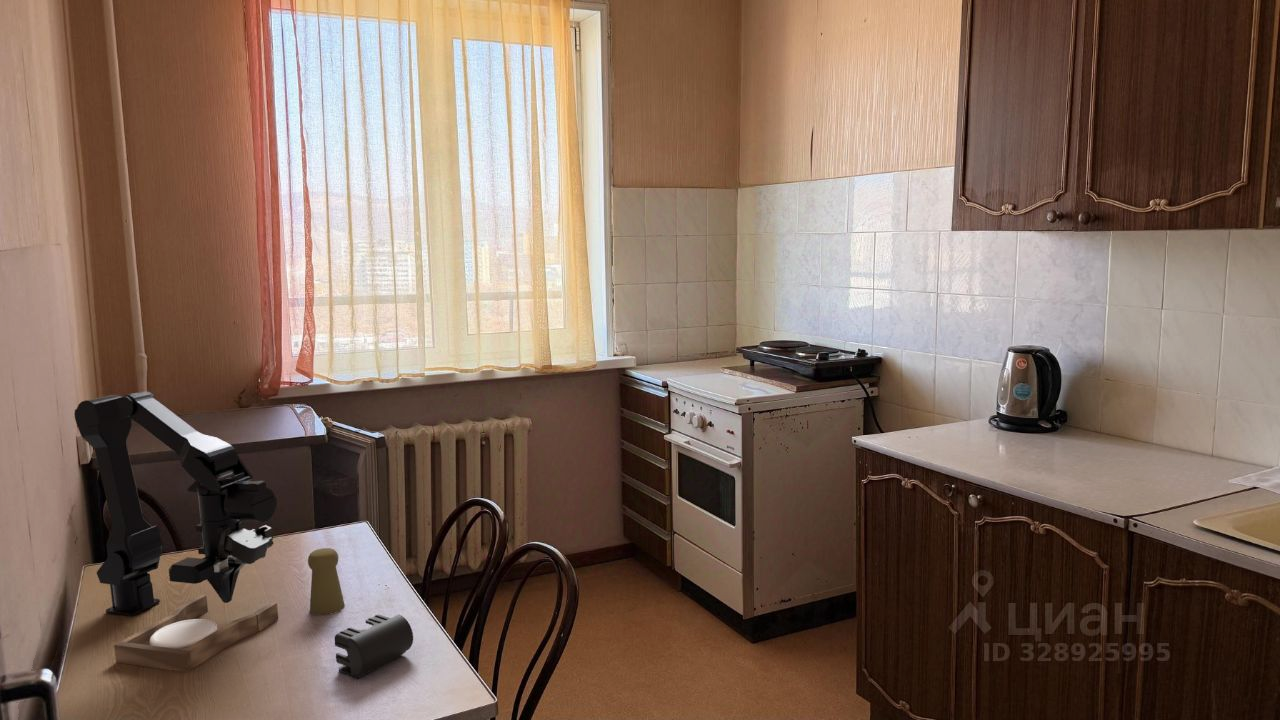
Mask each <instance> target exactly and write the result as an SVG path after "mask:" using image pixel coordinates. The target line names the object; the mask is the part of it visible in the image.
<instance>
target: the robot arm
mask: <svg viewBox="0 0 1280 720" xmlns="http://www.w3.org/2000/svg"><path fill="white" fill-rule="evenodd" d="M74 420H75V423H76V425H77V428H78V431H79V433H80V436H81V437H82V439H83V440H85V441H86V443H87V444H89V445H90V446H91V447H92V448H93V450H94V453H95V455H96V460H97V465H98V469H99V474H100V478H101V482H102V487H103V490H104V491H103V492H104V495H105V500H106V504H107V507H108V512H109V518H110V521H111V528H110V529H111V530H110V532H109V535H108V537H107V541H106V554H107V558H106V559H105V560H104V562H103V563H102V564H101V565H100V566H99V569H97V571H96V575H97V578H98V581H99V583H100V584H104V585H109V586H110V595H111V604H112V606H111V607H108V608H106V609H105V613H106V614H114V615H122V616H128V617H129V616H130V617H131V616H132V617H133V616H135V615H138V614H139V613H141V612H144V611H145V610H147V609H149V608H151V607H153V606H155V605H157V604H159V603H160V602H161V600H160V598H155V596H154V589H153V582H152V581H151V574H150V572H151V571H155V570H157V569H158V568H159V564H160V559H161V557H162V555H163V547H164V545H165V543H163V540H162V538H161V531H160V528H159V526H158V525H153V526H152V525H151V524H150V523H149V522H148V521H147V520H146V519H145V518H144V515H143V510H142V506H141V503H140V498H139V493H138V489H137V483H136V481H135V476H134V471H133V467H132V463H131V458H130V455H129V449H128V444H127V441H128V438H129V436H130V433H131V430H132V428H133V423H132V422H133V421H134V422H135V423H137V424H138V425H139V426H140V427H142V428H143V429H144V430H145V431H147V432H148V433H149V434H150V435H152V436H153V437H154V438H156V439H157V440H158V441H160V442H161V443H162V444H164V445H165V446H166V447H168V449H170V450H172V451H173V452H174V453H175V454H176V455H177V456H178V458H179V463H180V466H181V468H182V469H183V470H184V471H185V472H186V473H187V474H188V475H189V476H190V477H191V478H192V479H193V480H194V481H193V482H192V484H190V485H189V487H188V488H187V489H186V490H187V492H189V493H196V494H197V496H198V497H197V498H198V507H199V508H198V509H199V517H200V523H198V524H196V525H195V531H196V532H201V535H202V544H203V545H202V546H199V547H198V548H197V552H198V553H197V554H198V555H204V557H202V558H201V557H200V558H198V557H189V556H187V557H186V558H185V557H184V558H183V559H181V560H179V561H177V562H175V563H172V564H171V566H170V567H169V568H168V576H169V582H175V583H183V584H192V585H196V584H201V583H203V582H205V581H207V582H208V583H209V584H210V585H211V587H212V588H213V589H214V591H215V593H216V594H217V595H218V597H219V598H220V600H221V601H222V602H223V603H225V604H228V603H230V602H231V601H232V600H233V595H234V591H235V587H236V584H237V581H238V576H239V574H240V572H241V571H240V570H242V569H243V567H244V566H245V565H246V564H247V565H252V564H254V563H256V561H259V560H260V559H264V558H265V557H266V554H267V551H268V549H269V548H271V547H273V545H274V541H273V540H274V534H273V529H272V527H271V526H268V525H267V524H265V525H262V526H260V527H258V528H257V529H255V528H252V529H247V528H246V525H245V521H249V522H250V521H251V522H260V523H264V522H265V523H266V522H267V521H269V520H271V518H272V517H273V516H274V513H275V512H276V508H277V504H278V503H277V497H276V495H275V492H273V490H272V489H270V488H269V487H267V482H266V481H265V480H257V481H255V480H254V481H252V480H253V478H254V477H253V475H252V474H251V471H250V469H249V468H248V467H247V466H246V465H245V464H244V463H245V462H244V461H243V460H242V458H240V456H239V455H238V451H237V450H236V448H235V447H234V446H233V445H231V444H230V443H228V442H227V441H224V440H222V439H220V438H219V437H216V436H212V435H207V434H203V433H202V432H199V431H198V430H196V429H195V428H194V427H193V426H191V425H190V424H188V423H187V422H186V421H184V420H183V419H181V417H179V416H178V415H177V414H175V413H174V412H173V411H171V410H170V409H169V408H167V407H166V406H165V405H163V404H162V403H161V402H160V401H158V400H157V399H156V397H155V395H154V394H153V393H152V392H150V391H145V390H142V391H138V392H133V393H127V394H124V395H123V396H121V395H119V394H111V395H110V394H109V395H105V396H101V397H95V398H92V399H91V398H90V399H86V400H83V401H81V402H79V404H78V406H77V407H76V409H74ZM231 474H232V475H231ZM223 477H224V478H223ZM220 478H221V479H220ZM218 479H219V480H218Z"/></svg>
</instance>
